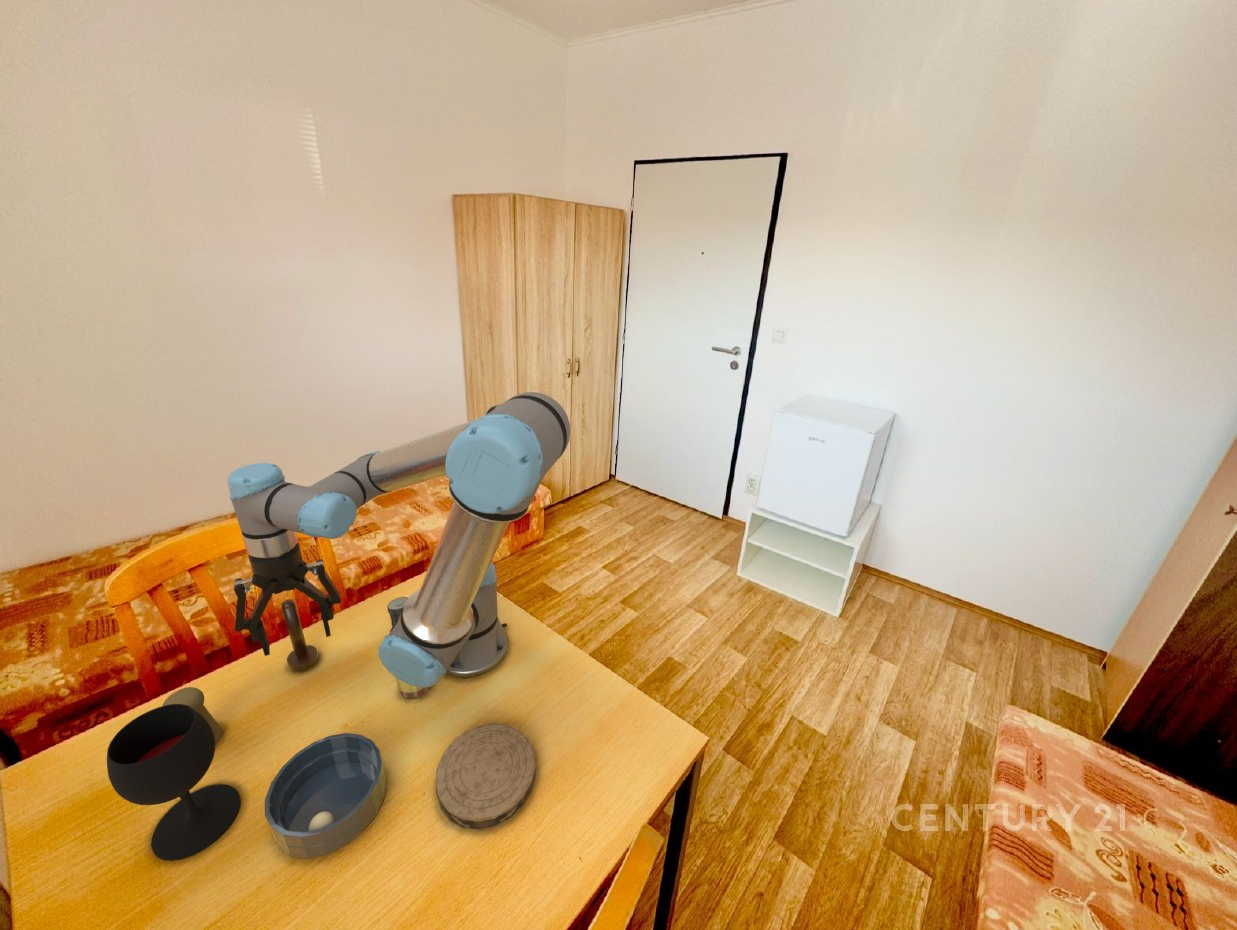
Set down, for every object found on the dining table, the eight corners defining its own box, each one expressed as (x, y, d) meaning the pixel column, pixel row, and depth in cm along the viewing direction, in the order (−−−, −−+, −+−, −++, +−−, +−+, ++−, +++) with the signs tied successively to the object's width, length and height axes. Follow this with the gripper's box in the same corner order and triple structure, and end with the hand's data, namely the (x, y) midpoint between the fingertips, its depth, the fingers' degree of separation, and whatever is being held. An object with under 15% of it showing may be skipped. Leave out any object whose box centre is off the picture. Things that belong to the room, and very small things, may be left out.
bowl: (377, 741, 86) (373, 718, 83) (394, 823, 74) (389, 799, 72) (273, 785, 78) (265, 761, 75) (274, 884, 66) (264, 860, 64)
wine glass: (228, 771, 79) (191, 685, 70) (251, 818, 73) (214, 730, 65) (143, 823, 72) (90, 734, 63) (161, 880, 66) (105, 790, 57)
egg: (333, 813, 74) (332, 838, 72) (308, 819, 72) (306, 845, 70) (335, 805, 72) (334, 830, 70) (310, 811, 71) (308, 837, 69)
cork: (197, 762, 80) (176, 717, 75) (167, 753, 81) (144, 708, 76) (231, 729, 85) (213, 685, 81) (202, 721, 86) (183, 677, 82)
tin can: (487, 854, 72) (486, 842, 70) (415, 791, 79) (413, 779, 77) (554, 765, 84) (554, 754, 83) (487, 718, 91) (486, 707, 90)
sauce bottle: (425, 701, 93) (405, 616, 86) (393, 700, 93) (371, 615, 86) (439, 675, 99) (422, 593, 92) (409, 674, 99) (390, 593, 92)
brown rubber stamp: (322, 651, 102) (307, 590, 95) (313, 671, 97) (296, 609, 90) (295, 653, 101) (277, 592, 94) (284, 673, 96) (265, 611, 89)
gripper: (341, 522, 94) (358, 610, 104) (195, 552, 83) (228, 648, 93) (346, 542, 89) (363, 634, 99) (190, 577, 77) (226, 677, 87)
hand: (298, 641), depth 96 cm, fingers open, 9 cm apart
